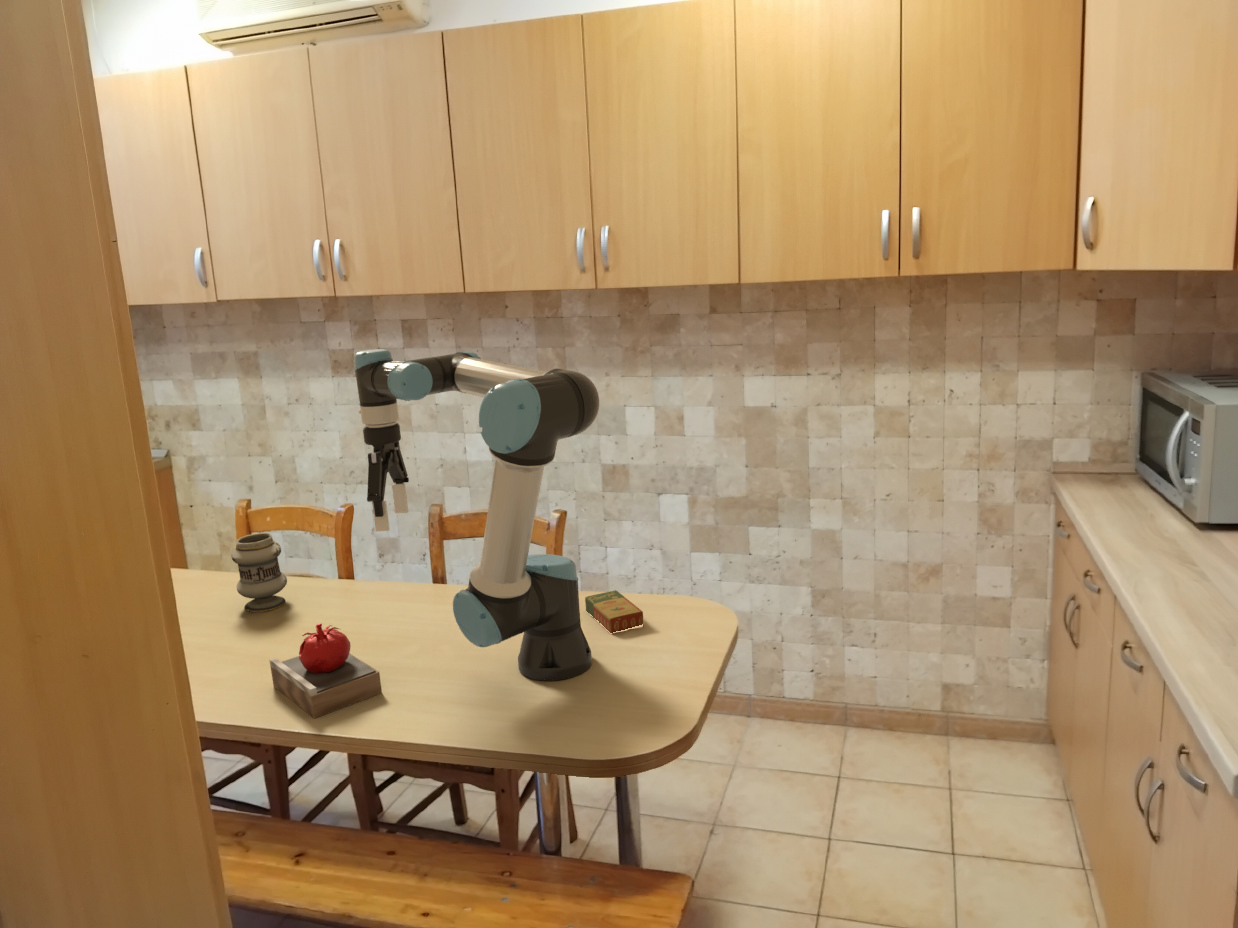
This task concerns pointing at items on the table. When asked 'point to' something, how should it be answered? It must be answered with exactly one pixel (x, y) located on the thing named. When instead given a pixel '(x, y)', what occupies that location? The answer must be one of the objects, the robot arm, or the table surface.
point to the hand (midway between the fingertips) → (392, 521)
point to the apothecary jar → (259, 571)
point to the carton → (614, 611)
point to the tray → (325, 684)
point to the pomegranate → (324, 650)
